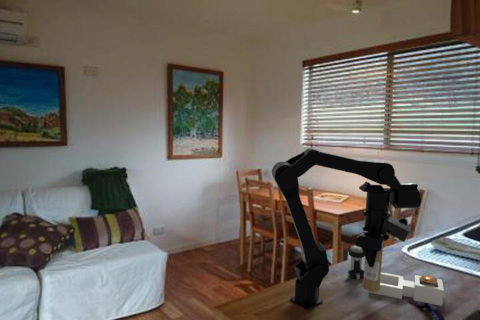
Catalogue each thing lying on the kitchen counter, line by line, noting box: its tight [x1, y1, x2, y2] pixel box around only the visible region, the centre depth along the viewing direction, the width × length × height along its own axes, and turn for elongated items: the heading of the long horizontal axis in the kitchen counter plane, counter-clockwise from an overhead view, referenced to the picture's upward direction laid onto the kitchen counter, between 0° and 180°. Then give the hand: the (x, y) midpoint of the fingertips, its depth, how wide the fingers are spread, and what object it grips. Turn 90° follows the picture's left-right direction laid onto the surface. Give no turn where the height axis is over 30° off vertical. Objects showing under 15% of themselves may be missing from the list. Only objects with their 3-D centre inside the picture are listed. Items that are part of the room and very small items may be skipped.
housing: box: [368, 271, 445, 307], centre depth 107 cm, size 19×9×4 cm, turn 65°
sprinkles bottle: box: [362, 246, 385, 293], centre depth 101 cm, size 5×5×13 cm
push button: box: [343, 244, 365, 281], centre depth 115 cm, size 7×5×10 cm
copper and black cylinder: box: [420, 274, 438, 287], centre depth 104 cm, size 4×4×6 cm
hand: (372, 263), depth 100 cm, fingers closed on sprinkles bottle, 4 cm apart
